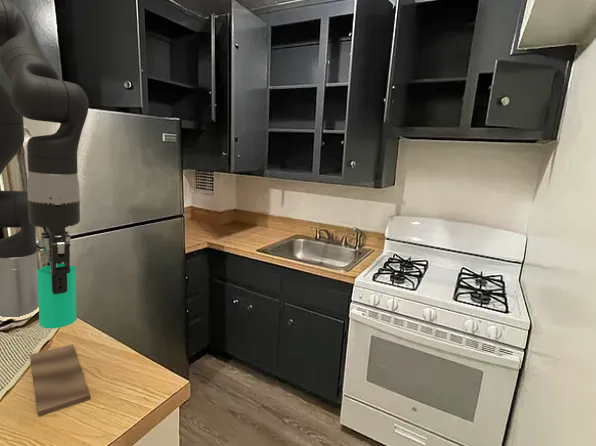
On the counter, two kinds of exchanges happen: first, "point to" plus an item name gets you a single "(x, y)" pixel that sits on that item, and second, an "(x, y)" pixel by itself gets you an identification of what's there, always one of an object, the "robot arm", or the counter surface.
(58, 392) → the board
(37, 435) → the counter surface
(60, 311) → the candle
